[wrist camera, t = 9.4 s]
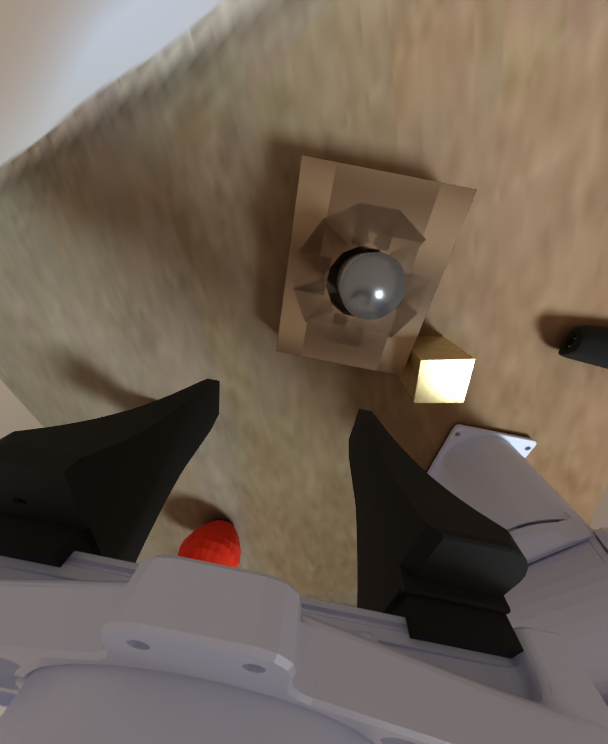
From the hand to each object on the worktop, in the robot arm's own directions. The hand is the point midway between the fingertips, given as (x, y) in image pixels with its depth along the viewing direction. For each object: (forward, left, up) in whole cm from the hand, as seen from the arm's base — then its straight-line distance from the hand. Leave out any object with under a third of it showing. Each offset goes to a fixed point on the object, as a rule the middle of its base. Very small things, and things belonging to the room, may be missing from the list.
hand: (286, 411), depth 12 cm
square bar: (+1, -10, -10) cm, 15 cm away
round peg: (+6, -3, -10) cm, 12 cm away
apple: (-30, +7, -11) cm, 33 cm away
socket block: (+6, -3, -10) cm, 12 cm away
